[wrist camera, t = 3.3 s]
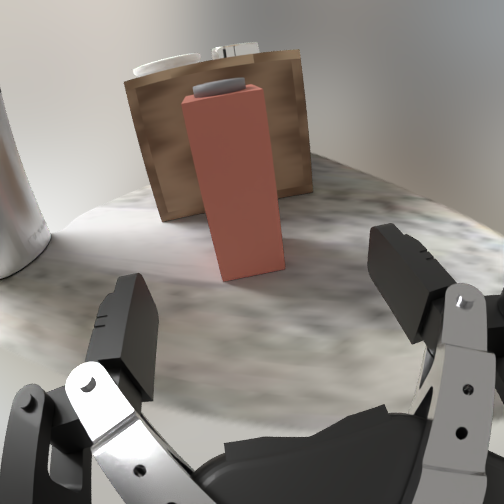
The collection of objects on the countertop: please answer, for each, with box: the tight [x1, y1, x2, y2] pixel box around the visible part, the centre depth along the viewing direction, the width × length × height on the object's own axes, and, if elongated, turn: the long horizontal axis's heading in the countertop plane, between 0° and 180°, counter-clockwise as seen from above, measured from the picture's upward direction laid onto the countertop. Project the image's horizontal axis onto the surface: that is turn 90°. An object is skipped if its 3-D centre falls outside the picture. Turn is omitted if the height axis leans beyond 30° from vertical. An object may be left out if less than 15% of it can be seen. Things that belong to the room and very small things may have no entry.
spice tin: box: [181, 78, 285, 282], centre depth 18 cm, size 4×4×12 cm
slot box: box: [124, 49, 313, 222], centre depth 30 cm, size 14×14×13 cm
